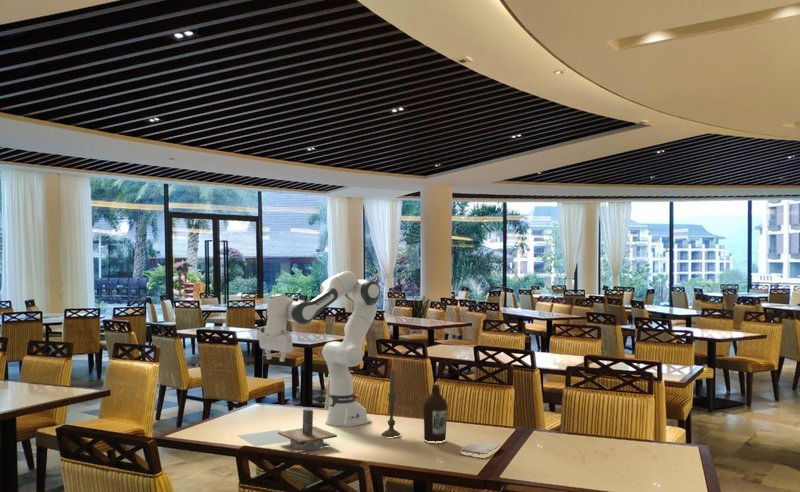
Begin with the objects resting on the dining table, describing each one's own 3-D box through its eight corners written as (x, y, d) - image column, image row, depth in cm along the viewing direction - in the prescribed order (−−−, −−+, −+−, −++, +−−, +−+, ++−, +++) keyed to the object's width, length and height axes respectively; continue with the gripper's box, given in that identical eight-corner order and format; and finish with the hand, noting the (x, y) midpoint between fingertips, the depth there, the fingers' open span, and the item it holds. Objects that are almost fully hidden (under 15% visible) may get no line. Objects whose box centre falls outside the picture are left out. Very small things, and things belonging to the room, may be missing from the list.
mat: (279, 431, 303) (279, 429, 303) (298, 441, 287) (298, 439, 287) (237, 436, 292) (237, 435, 292) (255, 447, 275) (255, 446, 275)
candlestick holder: (402, 433, 303) (403, 368, 304) (400, 438, 294) (401, 371, 295) (382, 432, 304) (383, 367, 305) (379, 437, 295) (381, 370, 296)
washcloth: (458, 455, 271) (458, 448, 272) (476, 446, 287) (476, 438, 287) (485, 460, 265) (485, 453, 265) (502, 450, 281) (502, 443, 281)
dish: (321, 452, 272) (321, 440, 272) (287, 451, 272) (287, 439, 272) (325, 442, 286) (325, 431, 286) (293, 442, 286) (293, 430, 286)
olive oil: (418, 439, 293) (419, 383, 294) (439, 437, 298) (440, 381, 299) (430, 445, 284) (431, 387, 284) (451, 443, 288) (452, 385, 289)
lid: (314, 428, 292) (315, 403, 292) (337, 436, 278) (337, 411, 278) (278, 434, 280) (278, 408, 281) (299, 443, 266) (300, 416, 267)
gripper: (296, 331, 295) (295, 362, 295) (268, 327, 309) (267, 357, 308) (285, 332, 290) (284, 363, 290) (257, 328, 304) (256, 358, 304)
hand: (275, 360), depth 299 cm, fingers open, 8 cm apart
